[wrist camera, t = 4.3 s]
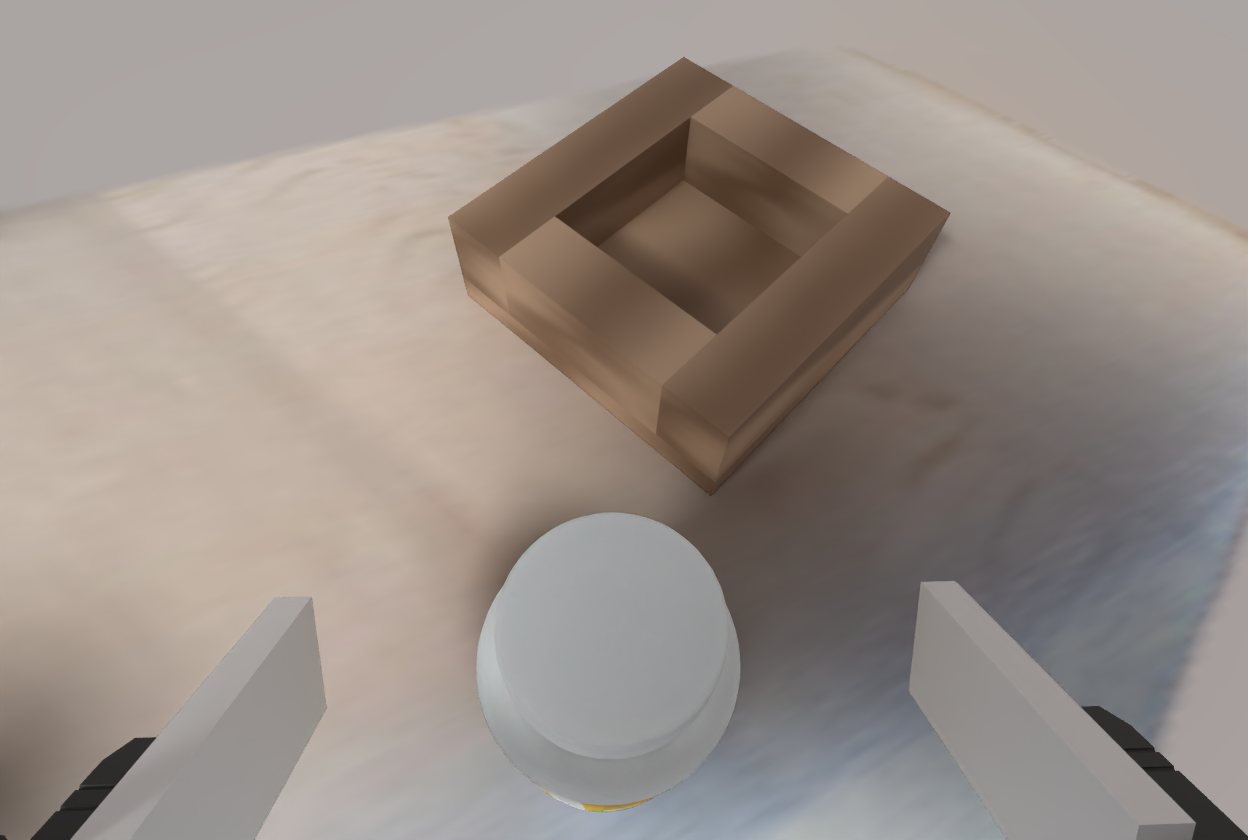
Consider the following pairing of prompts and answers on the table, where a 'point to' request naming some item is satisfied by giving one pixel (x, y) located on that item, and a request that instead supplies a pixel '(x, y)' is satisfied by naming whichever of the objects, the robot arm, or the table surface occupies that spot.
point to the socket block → (694, 262)
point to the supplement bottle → (608, 661)
